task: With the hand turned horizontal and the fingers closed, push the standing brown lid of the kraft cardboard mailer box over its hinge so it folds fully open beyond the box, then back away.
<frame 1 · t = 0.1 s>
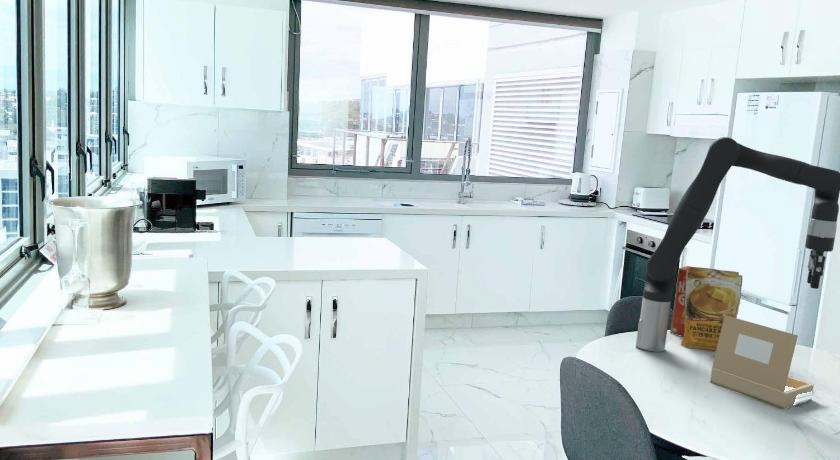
hand: (812, 285, 217), 29 cm above the table, tool pointing down, fingers open, 8 cm apart
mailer: (759, 390, 204), on the table
lid: (753, 352, 198), point 13 cm above the table, hinge at 80.0°
food packaging: (691, 336, 259), on the table
jar: (729, 363, 229), on the table
pancake mix bag: (704, 348, 244), on the table
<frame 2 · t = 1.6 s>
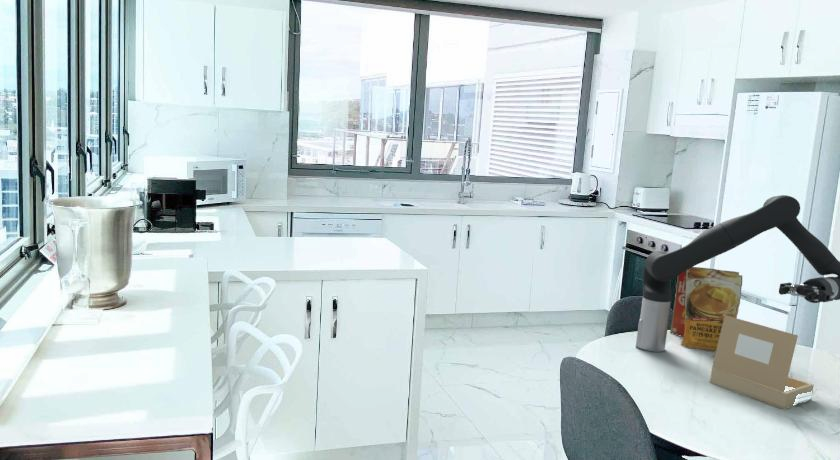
hand: (794, 294, 207), 28 cm above the table, tool horizontal, fingers open, 7 cm apart
nothing on the table moved.
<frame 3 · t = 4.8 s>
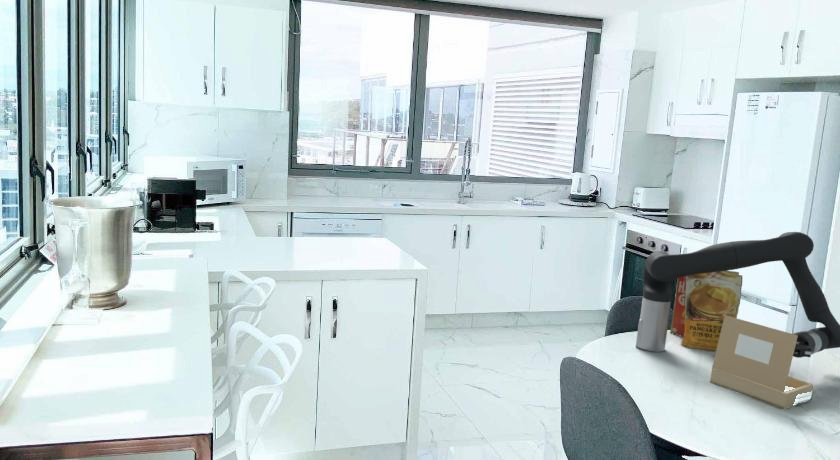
hand: (775, 350, 206), 11 cm above the table, tool horizontal, fingers closed
nothing on the table moved.
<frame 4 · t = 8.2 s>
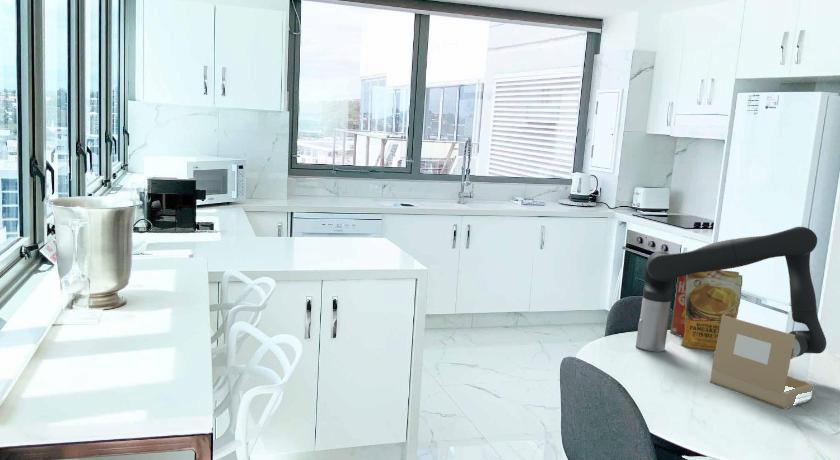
hand: (751, 356, 198), 12 cm above the table, tool horizontal, fingers closed
lid: (751, 352, 197), point 13 cm above the table, hinge at 85.6°, touching gripper
everything else where it was.
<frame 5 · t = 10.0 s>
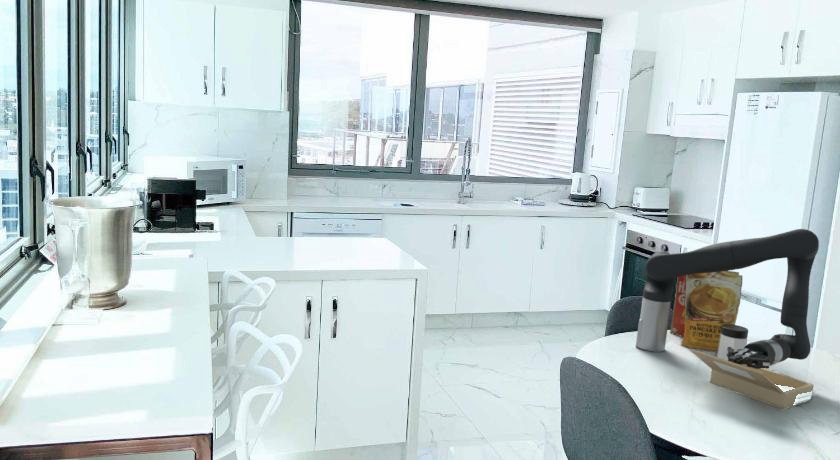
hand: (731, 361, 191), 12 cm above the table, tool horizontal, fingers closed
lid: (735, 370, 194), point 8 cm above the table, hinge at 150.4°, touching gripper
everything else where it was.
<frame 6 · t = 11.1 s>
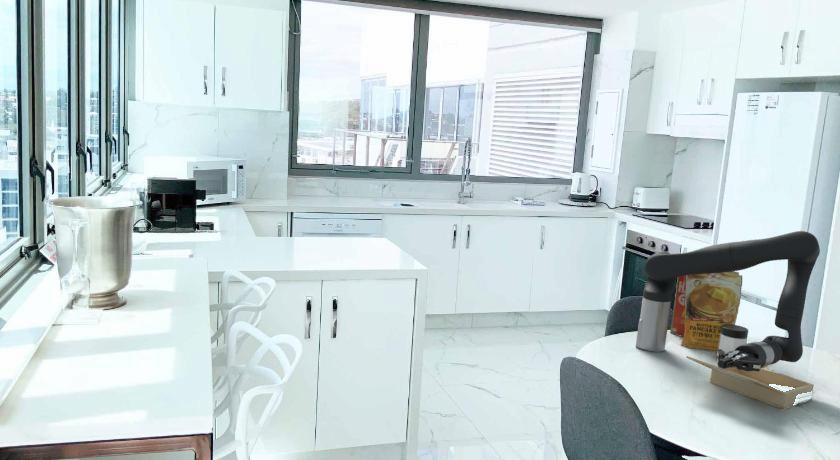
hand: (721, 364, 188), 12 cm above the table, tool horizontal, fingers closed
lid: (734, 374, 194), point 7 cm above the table, hinge at 159.0°
everything else where it was.
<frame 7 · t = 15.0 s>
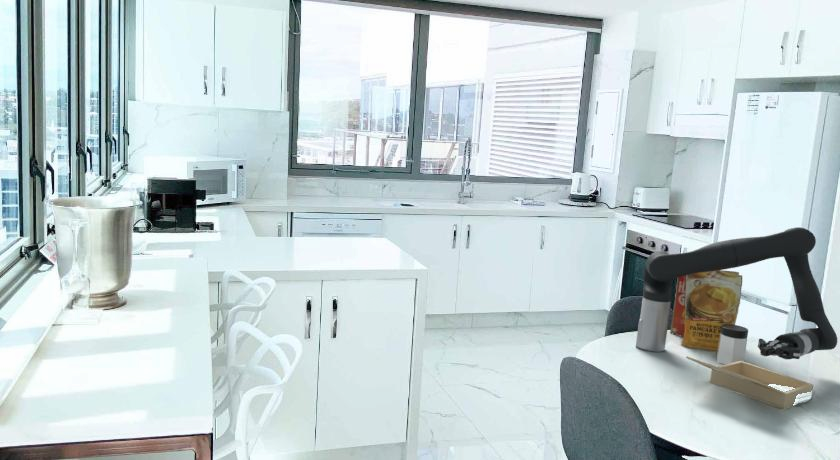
hand: (763, 352, 202), 12 cm above the table, tool horizontal, fingers closed
lid: (734, 375, 194), point 7 cm above the table, hinge at 159.3°
everything else where it was.
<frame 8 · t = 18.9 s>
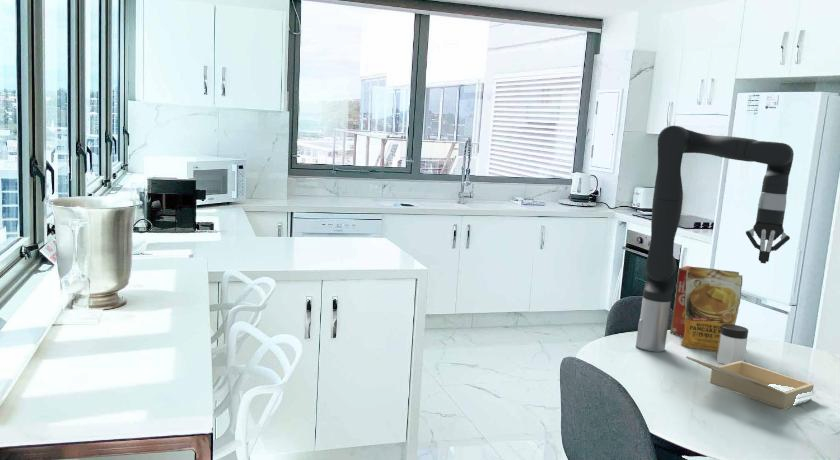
hand: (763, 262, 217), 35 cm above the table, tool pointing down, fingers closed
nothing on the table moved.
at the end: lid at +159° (first picture: +80°) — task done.
